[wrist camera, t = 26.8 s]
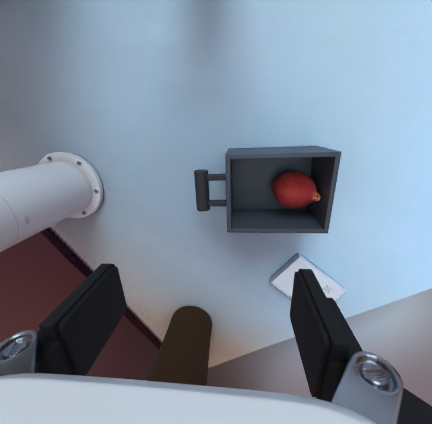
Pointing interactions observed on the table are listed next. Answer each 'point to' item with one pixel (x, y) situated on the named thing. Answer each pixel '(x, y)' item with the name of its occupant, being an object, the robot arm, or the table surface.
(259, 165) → the grey drawer with handle
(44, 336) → the robot arm
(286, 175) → the onion
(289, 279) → the hard drive
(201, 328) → the olive oil
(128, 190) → the table surface
